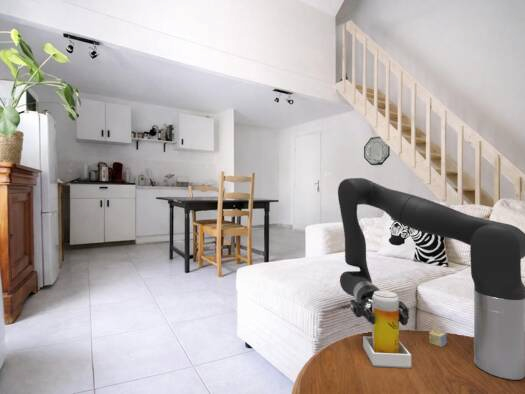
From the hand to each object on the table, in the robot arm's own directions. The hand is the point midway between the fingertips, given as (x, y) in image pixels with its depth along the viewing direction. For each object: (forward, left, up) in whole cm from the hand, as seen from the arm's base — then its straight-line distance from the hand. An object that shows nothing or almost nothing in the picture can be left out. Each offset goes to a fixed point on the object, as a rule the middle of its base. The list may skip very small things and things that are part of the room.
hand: (389, 320), depth 70 cm
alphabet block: (-17, -11, -10) cm, 22 cm away
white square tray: (0, -2, -10) cm, 10 cm away
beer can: (0, -2, -10) cm, 10 cm away
